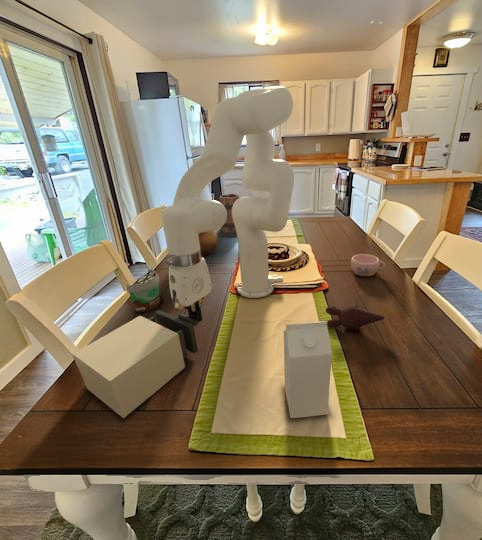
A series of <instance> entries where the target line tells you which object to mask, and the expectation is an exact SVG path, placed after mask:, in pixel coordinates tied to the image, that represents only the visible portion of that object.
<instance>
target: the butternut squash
mask: <svg viewBox="0 0 482 540" xmlns="http://www.w3.org/2000/svg"><path fill="white" fill-rule="evenodd" d="M201 198H202V199H204V198H203V197H201ZM198 236H199V243H200V250H201V257H205V256H207V255H210V254H211V253H213V252H214V250H215V249H216V248H217V246H218V241H219V240H218V234H217V233H216V230H215V231H210V232H204V233H200V234H199V235H198Z"/></svg>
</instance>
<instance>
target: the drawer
mask: <svg viewBox="0 0 482 540" xmlns="http://www.w3.org/2000/svg"><path fill="white" fill-rule="evenodd" d="M155 317H156V318H155ZM147 319H148V320H150V321H152V322H155V323H157V324H159V325H161V326H163V327H165V328H167V329H169V330H171V331H174V332H176V333H178V336H179V340H180V345H181V350H182V354H183V359H185V357H187V356H188V351H189V352H190V353H192V354H196V353H198V352H199V349H198V344H197V339H196V338H197V337H196V333H195V328H194V327H196V326H198V325H199V323H198V321H197V320H195V319H192V318H190V317H189V315H188V316H187V315H185V314H182V313H179V314H178V316H177V317H176V316H174V315H172V314H170V313H168V312H165V311H163V310H160V309H158V310H156V311H155V316H151V317H150V318H147Z"/></svg>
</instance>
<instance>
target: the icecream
mask: <svg viewBox="0 0 482 540" xmlns="http://www.w3.org/2000/svg"><path fill="white" fill-rule="evenodd" d="M325 312H326V314H328V315H330V316H337V318H332V319H329V320H326V321H327V328H336V327H340V326H342V327H344V328H345V329H347V330H352V331H353V330H356V331H358V330H359V328H361V327H363V326H367V325H370V324H372V323H373V324H374V323H377V322H379V321H382V320H383V321H384V320H385V318H386V317H385V316H383V315H381V314H378V313H375V312H373V311H369V310H367V309H363V308H360V307H358V305H357V304H354V305H353V304H351V305H350V304H349V305H346V306H344V307H342V308H341V309H340V308H338V307H336V306H335V305H334V306H333V305H332V306H327V307H326V308H325Z"/></svg>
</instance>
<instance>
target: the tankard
mask: <svg viewBox="0 0 482 540" xmlns="http://www.w3.org/2000/svg"><path fill="white" fill-rule="evenodd" d="M239 198H240V195H239V194H236V193H227V194H222V195H220V196H219V201H218V202H220V203H221V204H222V205H223V206H224V207H225V209H226V211H227V219H226V222H225V223H224V225H223V226H222V227H221V228H219V229H218V231H217V233H216V235H217V236H220V237H223V238H236V237H237V232H236V228H235V225H234V221H233V217H232V207H233V204H234V202H235V201H236V200H237V199H239Z"/></svg>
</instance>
